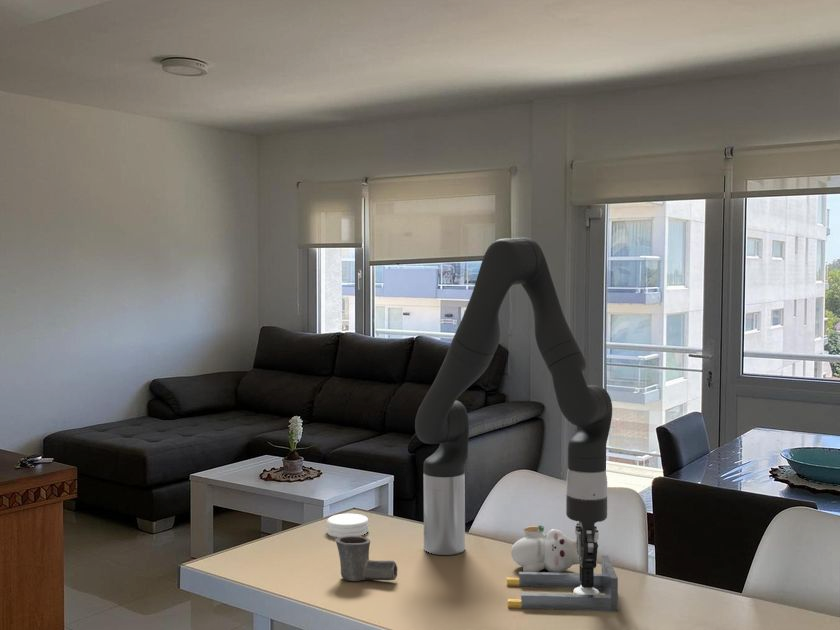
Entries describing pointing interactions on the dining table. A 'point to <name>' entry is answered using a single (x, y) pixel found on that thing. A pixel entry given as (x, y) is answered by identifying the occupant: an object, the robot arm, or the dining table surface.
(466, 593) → the dining table surface
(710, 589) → the dining table surface
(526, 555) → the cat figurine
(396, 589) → the dining table surface
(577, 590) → the chess piece
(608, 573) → the bracket
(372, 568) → the pipe
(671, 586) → the dining table surface
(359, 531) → the round white light
